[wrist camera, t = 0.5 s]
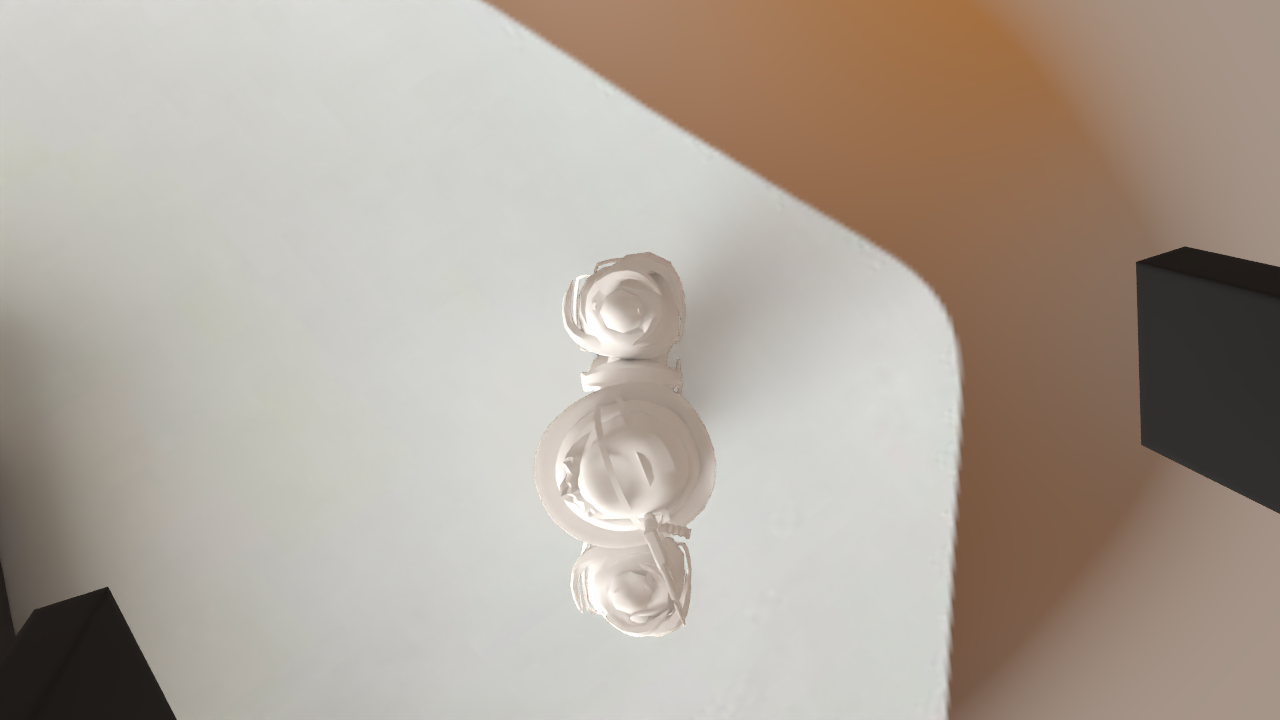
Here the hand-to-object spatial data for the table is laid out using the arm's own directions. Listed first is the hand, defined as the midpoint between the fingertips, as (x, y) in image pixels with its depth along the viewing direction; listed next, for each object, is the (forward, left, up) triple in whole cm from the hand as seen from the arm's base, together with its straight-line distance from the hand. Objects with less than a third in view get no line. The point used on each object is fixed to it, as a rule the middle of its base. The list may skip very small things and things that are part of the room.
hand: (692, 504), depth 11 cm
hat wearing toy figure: (+1, -1, -18) cm, 18 cm away
